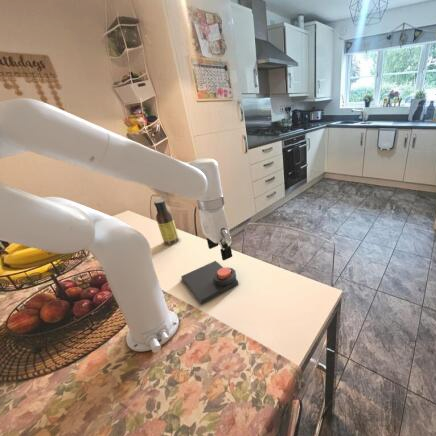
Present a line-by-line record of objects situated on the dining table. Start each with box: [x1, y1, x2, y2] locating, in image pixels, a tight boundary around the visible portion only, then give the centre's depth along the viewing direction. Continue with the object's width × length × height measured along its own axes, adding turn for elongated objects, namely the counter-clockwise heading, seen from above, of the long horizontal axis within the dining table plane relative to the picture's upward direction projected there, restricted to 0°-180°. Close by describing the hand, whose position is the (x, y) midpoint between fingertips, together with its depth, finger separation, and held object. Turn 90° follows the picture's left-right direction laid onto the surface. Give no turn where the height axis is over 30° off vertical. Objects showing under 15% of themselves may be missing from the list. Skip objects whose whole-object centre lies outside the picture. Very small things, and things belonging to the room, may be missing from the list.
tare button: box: [217, 266, 231, 279], centre depth 82 cm, size 4×4×2 cm
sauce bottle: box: [153, 198, 179, 246], centre depth 105 cm, size 6×6×20 cm
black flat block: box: [180, 260, 239, 305], centre depth 83 cm, size 16×14×4 cm
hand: (220, 252), depth 78 cm, fingers open, 8 cm apart
